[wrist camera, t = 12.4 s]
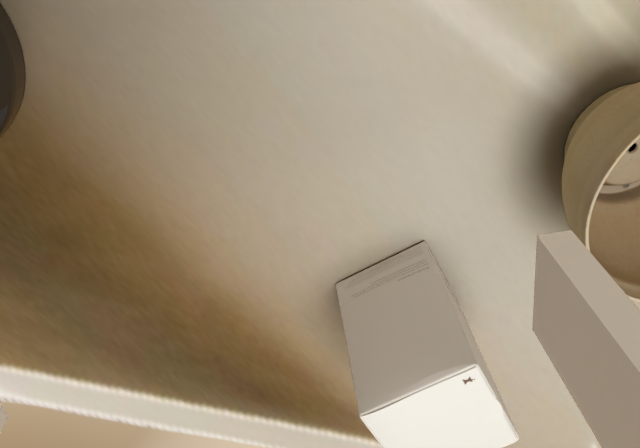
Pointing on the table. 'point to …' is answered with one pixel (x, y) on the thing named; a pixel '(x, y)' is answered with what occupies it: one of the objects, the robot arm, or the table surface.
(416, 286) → the supplement box
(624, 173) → the planter bowl
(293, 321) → the table surface
